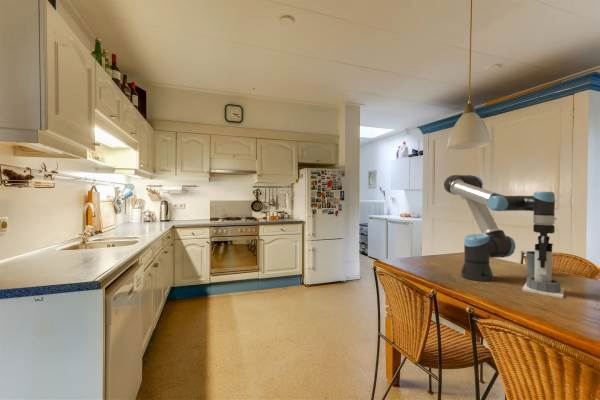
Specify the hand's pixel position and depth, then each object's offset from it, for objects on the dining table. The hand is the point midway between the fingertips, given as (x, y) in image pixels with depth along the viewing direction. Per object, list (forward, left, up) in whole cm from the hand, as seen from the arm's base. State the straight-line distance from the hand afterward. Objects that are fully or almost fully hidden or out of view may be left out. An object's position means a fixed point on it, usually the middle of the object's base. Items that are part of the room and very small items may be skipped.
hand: (543, 272), depth 132 cm
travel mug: (0, 0, -6) cm, 6 cm away
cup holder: (0, 0, -8) cm, 8 cm away
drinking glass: (-5, +37, -9) cm, 38 cm away
